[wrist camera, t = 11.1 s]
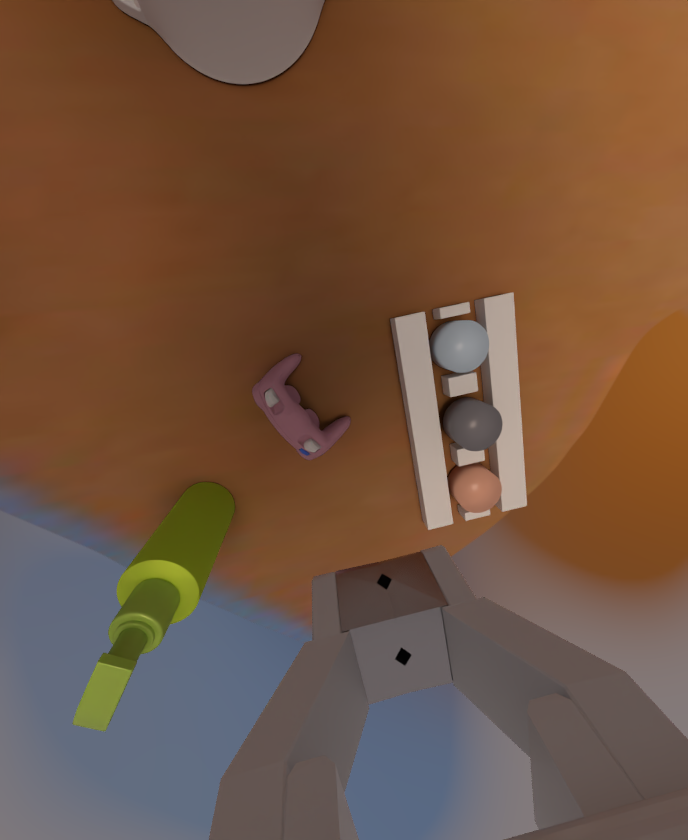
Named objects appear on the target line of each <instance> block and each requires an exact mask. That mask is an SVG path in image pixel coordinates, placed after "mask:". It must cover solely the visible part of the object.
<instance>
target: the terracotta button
mask: <svg viewBox="0 0 688 840" xmlns="http://www.w3.org/2000/svg"><path fill="white" fill-rule="evenodd" d="M447 481H448V489H449V492H450V493H451V495H452V496H453V497H454V498H455V499H456V500H457V502H458V503H459V504H460V505H461V506H462V507H463V508H464V509H465V510H467V511H469V512H472V513H481V512H485V511H487V510H489V509H491V508H492V507H493V506H494V505H495V504H496V503H497V502H498V500H499V498H500V496H501V492H502V486H501V482H500V480H499V479H498V477H497V476H495V475H494V474H493V473H492V472H490V471H489V470H488V469H487V468H485V467H484V466H483V465H481V464H480V463H478V462H476V463H472V464H468V465H464V466H458V465H457V466H456V467H455V468H454V469H453V470H452V471H451V472H450V474H449V477H448V480H447Z"/></svg>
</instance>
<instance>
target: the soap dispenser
mask: <svg viewBox="0 0 688 840" xmlns="http://www.w3.org/2000/svg"><path fill="white" fill-rule="evenodd" d="M234 511H235V502H234V499H233V497H232V495H231V494H230V492H229V491H228V490H227V489H226V488H224V487H223V486H221V485H219V484H216V483H212V482H201V483H197V484H195V485H192V486H191V487H189V488H188V489H187V490H186V491H185V492H184V494H183V495H182V496H181V498H180V499H179V500H178V502H177V503H176V504H175V506H174V507H173V508H172V510H171V511H170V512H169V513H168V515H167V516H166V517H165V519H164V520H163V521H162V523H161V524H160V525H159V527H158V528H157V529H156V531H155V532H154V533H153V535H152V536H151V537H150V539H149V540H148V541H147V543H146V544H145V545H144V547H143V548H142V549H141V551H140V552H139V553H138V555H137V556H136V557H135V559H134V560H133V561H132V563H131V564H130V565H129V566H128V568H127V569H126V571H125V572H124V573H123V574H122V576H121V578H120V579H119V582H118V585H117V597H118V600H119V603H120V605H121V607H122V608H121V609H120V611H119V612H118V614H117V615H116V617H115V618H114V620H113V621H112V623H111V625H110V627H109V631H108V635H109V639H110V641H111V643H112V644H113V647H112V648H111V650H110V651H109V653H108V654H107V653H103V654H102V656H101V657H100V659H99V661H98V662H97V665H96V667H95V669H94V671H93V674H92V676H91V678H90V680H89V683H88V685H87V687H86V689H85V692H84V694H83V696H82V699H81V701H80V703H79V706H78V708H77V711H76V714H75V717H74V720H73V725H77V726H81V727H87V728H91V729H95V730H100V731H106V729H107V726H108V725H109V722H110V721H111V718H112V716H113V714H114V712H115V709H116V707H117V705H118V703H119V701H120V698H121V696H122V694H123V692H124V690H125V687H126V685H127V683H128V681H129V679H130V677H131V674H132V672H133V670H134V668H135V665H136V663H137V660H138V658H139V656H140V654H144V653H148V652H150V651H152V650H153V649H155V648H156V647H157V646H158V645H159V644H160V643H161V641H162V639H163V637H164V635H165V633H166V631H167V629H168V627H169V625H170V624H173V623H176V622H179V621H181V620H183V619H185V618H186V617H187V616H189V615H190V614H191V613H192V612H193V611H194V609H195V608H196V606H197V604H198V602H199V599H200V597H201V594H202V592H203V589H204V587H205V584H206V582H207V579H208V577H209V574H210V572H211V569H212V567H213V564H214V562H215V559H216V557H217V554H218V552H219V549H220V547H221V544H222V542H223V539H224V537H225V534H226V532H227V529H228V527H229V524H230V522H231V519H232V517H233V514H234Z"/></svg>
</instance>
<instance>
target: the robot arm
mask: <svg viewBox="0 0 688 840" xmlns="http://www.w3.org/2000/svg"><path fill="white" fill-rule="evenodd" d="M112 1H113V2H114V4H115V5H116V6H117V7H118V8H119V9H121V10H122V11H123V12H125V13H126V14H128V15H130V16H131V17H133V18H135V19H137V20H139V21H141V22H143V23H145V24H147V25H149V26H150V27H151V28H152V29H154V30H155V31H156V32H157V33H158V34H159V35H160V36H161V37H162V39H163V40H164V41H165V42H166V43H167V44H168V45H169V46H170V48H171V49H172V50H173V51H174V52H175V53H176V54H177V55H178V56H179V57H180V58H181V59H183V60H184V61H185V62H186V63H188V64H189V65H190V66H192V67H193V68H195V69H196V70H198V71H199V72H201V73H203V74H205V75H207V76H209V77H211V78H214V79H216V80H220V81H223V82H228V83H234V84H252V83H258V82H262V81H265V80H268V79H271V78H273V77H275V76H277V75H279V74H280V73H282V72H283V71H285V70H286V69H287V68H289V67H290V66H291V65H292V64H293V63H294V62H295V61H296V60H297V59H298V58H299V57H300V55H301V54H302V53H303V51H304V50H305V48H306V47H307V45H308V44H309V42H310V40H311V38H312V36H313V34H314V31H315V29H316V26H317V23H318V20H319V17H320V13H321V10H322V7H323V4H324V1H325V0H112ZM449 683H454V686H455V687H457V689H459V690H460V691H461V692H462V693H463V694H464V695H465V696H466V697H467V698H468V699H469V700H470V701H471V702H472V703H473V704H474V705H475V706H476V707H477V708H478V709H480V710H481V711H482V712H483V713H484V714H485V715H486V716H487V717H488V718H489V719H490V720H491V721H492V722H493V723H495V725H497V727H498V728H500V729H501V730H502V731H503V732H504V733H505V734H506V735H507V736H508V737H509V738H510V739H511V740H512V741H513V742H514V743H515V744H517V746H518V747H519V748H521V749H522V750H523V751H524V752H525V753H526V754H527V755H528V756H529V757H530V758H531V759H530V760H531V773H532V788H533V801H534V815H535V822H536V824H537V826H538V828H539V830H536V831H533V832H529V833H525V834H522V835H518V836H515V837H512V838H508V839H504V840H688V739H687V738H686V737H685V736H684V735H683V734H682V733H681V732H680V730H679V729H678V728H677V727H676V726H675V725H674V724H673V723H672V722H671V721H670V720H669V718H668V717H667V716H666V715H665V714H664V713H663V712H662V711H661V710H660V709H659V708H658V706H657V705H656V704H655V703H654V702H653V701H652V700H651V699H650V698H649V697H648V696H647V695H646V693H644V691H643V690H642V689H641V688H640V687H639V686H638V685H637V684H636V683H635V682H634V680H633V679H632V678H631V677H630V676H629V675H628V674H627V673H626V672H625V671H623V670H621V669H619V668H617V667H615V666H613V665H611V664H610V663H608V662H606V661H604V660H602V659H600V658H598V657H596V656H595V655H593V654H591V653H589V652H587V651H585V650H583V649H581V648H579V647H578V646H576V645H574V644H572V643H570V642H568V641H566V640H564V639H562V638H560V637H559V636H557V635H555V634H553V633H551V632H549V631H547V630H545V629H544V628H542V627H540V626H538V625H536V624H534V623H532V622H530V621H528V620H527V619H525V618H523V617H521V616H519V615H517V614H515V613H513V612H512V611H510V610H508V609H506V608H504V607H502V606H500V605H498V604H496V603H495V602H493V601H491V600H489V599H487V598H485V597H483V598H478V599H477V598H476V596H475V595H474V593H473V591H472V590H471V588H470V587H469V585H468V583H467V582H466V580H465V579H464V577H463V576H462V574H461V572H460V571H459V569H458V568H457V566H456V564H455V563H454V561H453V560H452V558H451V557H450V555H449V553H448V552H447V550H446V549H445V547H443V546H442V545H440V546H436V547H432V548H429V549H425V550H421V551H420V552H416V553H412V554H408V555H404V556H400V557H396V558H392V559H388V560H384V561H380V562H375V563H371V564H366V565H362V566H357V567H353V568H348V569H344V570H339V571H336V572H332V573H327V574H323V575H319V576H314V577H313V580H312V641H309V642H305V644H304V645H303V647H302V649H301V650H300V652H299V654H298V655H297V657H296V658H295V660H294V662H293V663H292V665H291V667H290V668H289V670H288V671H287V673H286V675H285V676H284V678H283V679H282V681H281V683H280V684H279V686H278V688H277V689H276V691H275V692H274V694H273V696H272V697H271V699H270V700H269V702H268V704H267V705H266V707H265V709H264V710H263V712H262V713H261V715H260V717H259V718H258V720H257V722H256V723H255V725H254V726H253V728H252V730H251V731H250V733H249V734H248V736H247V738H246V739H245V741H244V743H243V744H242V746H241V747H240V749H239V751H238V752H237V754H236V756H235V757H234V759H233V761H232V762H231V764H230V765H229V767H228V769H227V770H226V772H225V773H224V775H223V777H222V778H221V782H220V786H219V792H218V796H217V801H216V806H215V812H214V816H213V821H212V826H211V831H210V836H209V840H359V839H358V836H357V832H356V829H355V826H354V823H353V820H352V817H351V813H350V810H349V807H348V804H347V800H346V797H345V794H344V792H345V789H346V785H347V782H348V778H349V775H350V772H351V768H352V765H353V762H354V758H355V755H356V751H357V748H358V745H359V741H360V738H361V734H362V731H363V727H364V724H365V721H366V717H367V714H368V710H369V706H368V705H369V704H373V703H376V702H379V701H383V700H386V699H389V698H393V697H396V696H399V695H403V694H406V693H409V692H414V691H418V690H422V689H427V688H431V687H436V686H440V685H444V684H449Z"/></svg>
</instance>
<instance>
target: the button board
mask: <svg viewBox="0 0 688 840" xmlns="http://www.w3.org/2000/svg"><path fill="white" fill-rule="evenodd" d="M474 301H475V312H476V322H477V323H479V324H480V325H481V326H482V327H483V328H484V329H485V330H486V332H487V334H488V338H489V350H488V354H487V356H486V358H485V360H484V361H483V362H482V364H481V376H482V386H483V397H484V403H487V404H489V405H491V406H493V407H495V408H496V409H497V410H498V411H499V413H500V415H501V417H502V431H501V434H500V436H499V438H498V439H497V441H496V442H495V443H494V444H493V445H492V446H490V447H489V448H488V450H489V460H490V471H491V472H492V473H493V474H494V475H495V476H497V477H498V479H499V480H500V482H501V486H502V492H501V496H500V498H499V500H498V502H497V503H496V504H495V505H496V506H497V507H498V508H499V509H500V510H501V511H502V512H503V511H507V510H512V509H515V508H520V507H523V506H527V500H526V484H525V468H524V452H523V436H522V420H521V405H520V389H519V373H518V357H517V342H516V326H515V310H514V294H513V293H507V294H501V295H497V296H492V297H488V298H483V299H478V300H474ZM432 310H433V318H434V319H443V318H448V317H452V316H457V315H461V314H466V313H470V304H469V302H466V303H460V304H455V305H451V306H446V307H442V308H437V309H432ZM390 322H391V329H392V335H393V341H394V347H395V353H396V359H397V365H398V372H399V378H400V384H401V390H402V396H403V402H404V408H405V414H406V421H407V427H408V433H409V439H410V445H411V451H412V457H413V464H414V470H415V476H416V482H417V488H418V494H419V500H420V507H421V513H422V519H423V522H424V523H425V525H426V527H427V529H428V530H430V529H434V528H438V527H442V526H446V525H451V524H453V518H452V511H451V504H450V496H449V489H448V481H447V474H446V466H445V459H444V451H443V444H442V437H441V429H440V422H439V414H438V407H437V399H436V392H435V385H434V377H433V370H432V362H431V355H430V347H429V340H428V332H427V325H426V318H425V312H419V313H414V314H410V315H405V316H400V317H396V318H391V319H390ZM441 381H442V388H443V394H445V395H447V396H449V397H454V396H459V395H463V394H467V393H472V392H476V391H478V385H477V375H476V372H473V371H470V372H466V373H458V372H457V373H452V374H448V375H443V376H441ZM450 451H451V459H452V461H453V462H455V463H456V464H457V465H458V466H464V465H468V464H472V463H476V462H480V461H484V460H485V456H484V450H482V451H469V450H466V449H464V448H463V447H461V446H460V445H459V444H458V443H452V444H450ZM457 506H458V512H459V513H460V515H461V516H462V517H463V518H464V519H465V521H467V520H471V519H475V518H479V517H483V516H487V515H490V509H489V510H487V511H485V512H481V513H472V512H469V511H467V510H465V509H464V508H463V507H462V506H461V505H460V504H458V505H457Z"/></svg>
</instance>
